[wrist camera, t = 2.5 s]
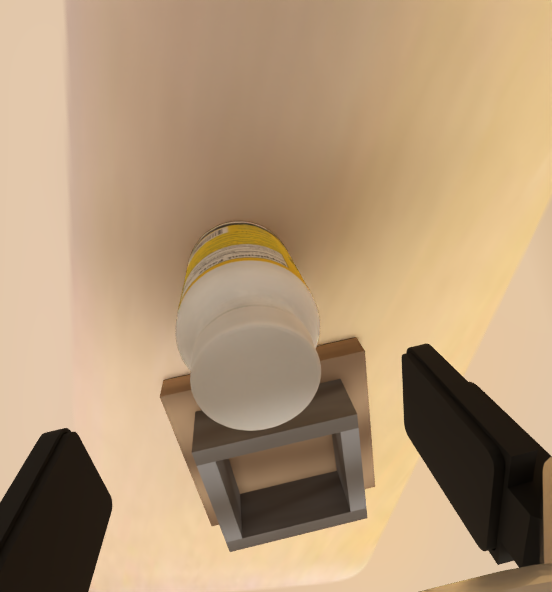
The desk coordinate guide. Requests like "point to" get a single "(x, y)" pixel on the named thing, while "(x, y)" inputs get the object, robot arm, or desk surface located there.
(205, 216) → the desk surface
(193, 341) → the supplement bottle
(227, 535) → the socket stand
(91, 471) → the robot arm
